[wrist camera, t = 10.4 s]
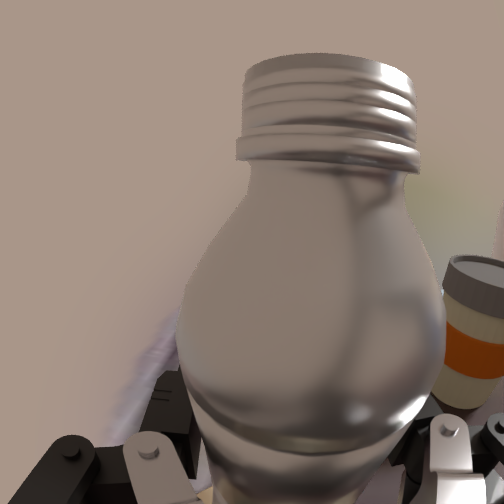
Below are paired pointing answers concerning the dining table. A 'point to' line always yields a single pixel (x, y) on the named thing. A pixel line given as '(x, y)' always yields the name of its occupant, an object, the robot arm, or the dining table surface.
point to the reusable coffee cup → (472, 331)
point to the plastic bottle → (314, 289)
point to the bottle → (499, 236)
